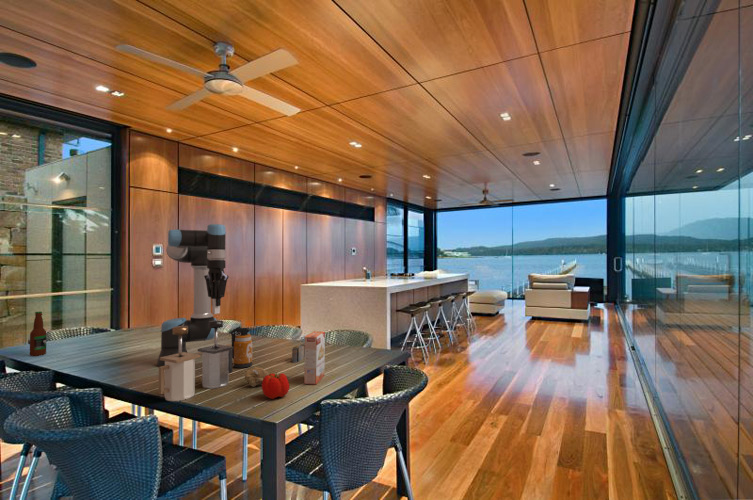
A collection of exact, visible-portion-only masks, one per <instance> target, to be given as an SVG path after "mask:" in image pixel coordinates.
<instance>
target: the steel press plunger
mask: <svg viewBox="0 0 753 500" xmlns="http://www.w3.org/2000/svg"><path fill="white" fill-rule="evenodd" d="M223 327H224V320H221V319H220V320H219V319H218V320H217V319H216V320H214V321H209V328H214V338H213V339H214V341H213V343H214V349H217V345H218V329H221V328H223Z"/></svg>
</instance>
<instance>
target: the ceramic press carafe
mask: <svg viewBox="0 0 753 500" xmlns="http://www.w3.org/2000/svg"><path fill="white" fill-rule="evenodd" d="M199 358H201V354H197V353H191V352H187V353H186V352H182V357H179V353H178V354H173V355H169V356H164V357H160V360H162V361H165V366H161V367H160V366H158V394H159V395H164V399H165V401H167V402H178V401H179V400H181V401H186V400H188V399H191V398H193V397H194V396H195V391H196V390H195V387H196V378H195V377H196V359H199ZM185 399H186V400H185ZM179 402H180V401H179Z"/></svg>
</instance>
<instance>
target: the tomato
mask: <svg viewBox="0 0 753 500" xmlns="http://www.w3.org/2000/svg"><path fill="white" fill-rule="evenodd" d="M261 390H262V393H263V395H264V396H265V397H267V398H269V399H272V400H274V399H276V398H283V397H284V396H286V395H287V394H288V393H289V391H290V382H289V379H288V377H287V376H286V374H285V373H283V372H282V373H279V375H278V372H275V373H269V375H267V376H265V377H264V379H263V381H262V385H261Z"/></svg>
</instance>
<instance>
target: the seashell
mask: <svg viewBox="0 0 753 500" xmlns="http://www.w3.org/2000/svg"><path fill="white" fill-rule="evenodd" d="M269 374H270V372H268V371H267V370H266V369H264V368H262V367H259V366H258V367H257V366H254V367H252V368H250V369H248V370H246V372H245V373H244V380H245V381H246V382H248V383H249V385H250V386H251V387H252V388H255V387H256V386H262V381H263V379H264V377H265V376H267V375H269Z"/></svg>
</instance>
